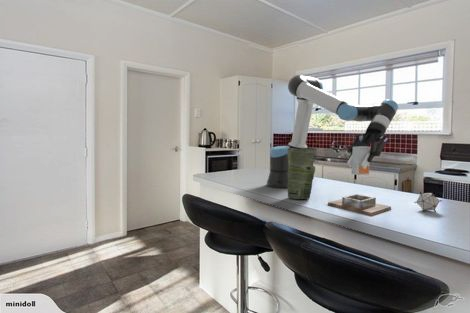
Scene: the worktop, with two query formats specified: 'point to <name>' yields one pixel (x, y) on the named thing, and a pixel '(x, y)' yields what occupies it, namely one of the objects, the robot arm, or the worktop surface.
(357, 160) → the skincare box
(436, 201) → the game die
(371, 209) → the walnut mount
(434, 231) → the worktop surface
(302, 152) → the pouch
